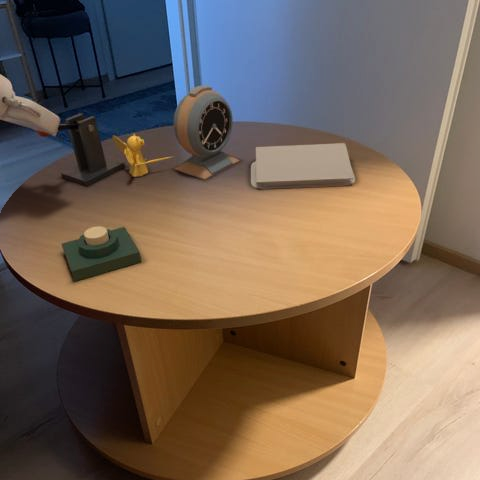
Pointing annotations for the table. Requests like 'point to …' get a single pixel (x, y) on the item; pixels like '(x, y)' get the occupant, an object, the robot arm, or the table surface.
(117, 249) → the control block
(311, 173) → the book
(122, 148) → the figurine
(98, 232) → the button
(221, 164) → the alarm clock
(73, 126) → the switch lever
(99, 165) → the switch bracket
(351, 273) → the table surface
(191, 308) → the table surface
